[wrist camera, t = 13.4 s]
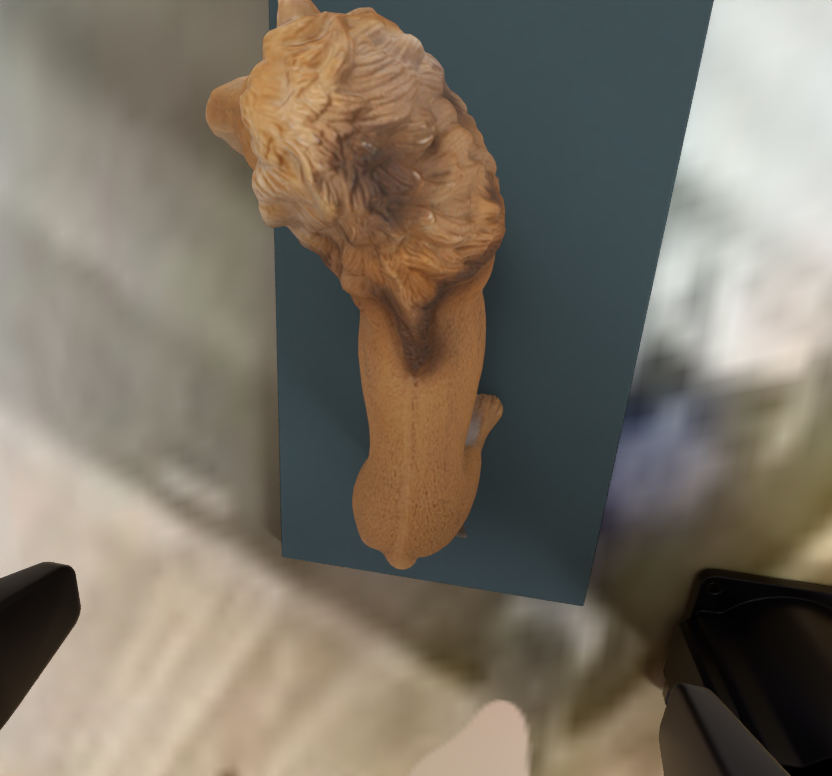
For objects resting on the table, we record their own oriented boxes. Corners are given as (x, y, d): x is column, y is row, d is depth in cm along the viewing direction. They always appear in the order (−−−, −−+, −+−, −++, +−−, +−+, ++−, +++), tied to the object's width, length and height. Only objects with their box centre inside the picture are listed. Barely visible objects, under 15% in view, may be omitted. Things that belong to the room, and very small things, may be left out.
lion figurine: (312, 109, 16) (90, 0, 7) (489, 67, 15) (465, -113, 6) (398, 531, 20) (321, 763, 12) (541, 523, 19) (567, 772, 11)
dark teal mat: (713, -23, 14) (721, -32, 13) (581, 596, 21) (583, 607, 20) (275, -29, 15) (266, -38, 15) (286, 548, 22) (281, 557, 22)
